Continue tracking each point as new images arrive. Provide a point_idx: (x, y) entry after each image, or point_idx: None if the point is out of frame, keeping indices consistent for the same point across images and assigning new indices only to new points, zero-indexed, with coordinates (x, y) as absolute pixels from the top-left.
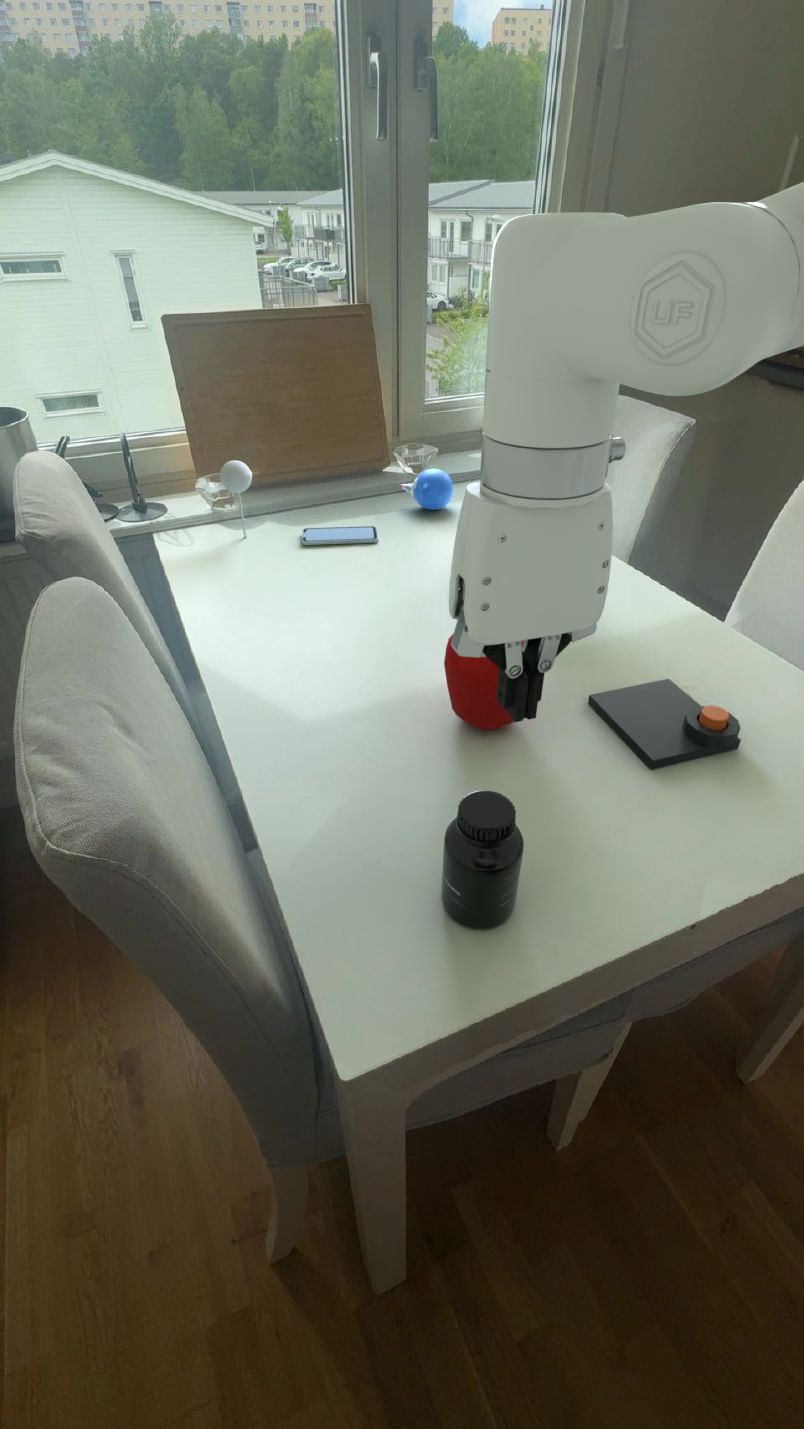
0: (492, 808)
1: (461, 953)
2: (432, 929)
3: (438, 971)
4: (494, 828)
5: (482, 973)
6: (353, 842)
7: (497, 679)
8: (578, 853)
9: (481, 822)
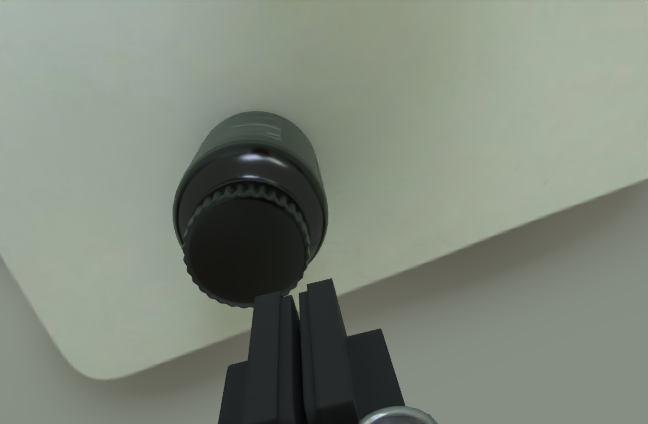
0: (259, 251)
1: None
2: None
3: None
4: None
5: None
6: (27, 16)
7: (219, 417)
8: (449, 72)
9: (230, 289)
